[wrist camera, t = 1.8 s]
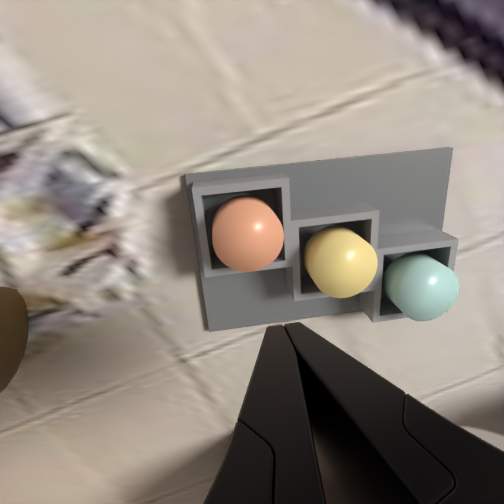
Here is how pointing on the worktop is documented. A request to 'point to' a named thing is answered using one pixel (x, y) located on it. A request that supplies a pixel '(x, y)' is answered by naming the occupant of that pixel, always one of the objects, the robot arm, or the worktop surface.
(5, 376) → the kendama
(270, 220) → the terracotta button
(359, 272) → the mustard button
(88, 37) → the worktop surface
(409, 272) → the teal button
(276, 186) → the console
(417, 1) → the worktop surface
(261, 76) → the worktop surface
